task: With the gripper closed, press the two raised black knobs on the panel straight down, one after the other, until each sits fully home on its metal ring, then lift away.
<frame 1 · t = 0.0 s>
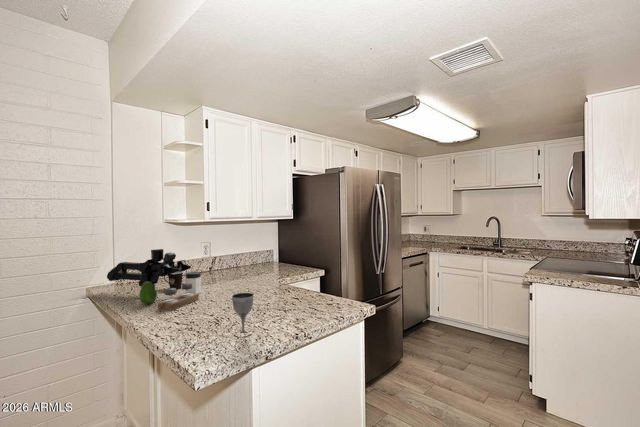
hand: (185, 268, 170), 17 cm above the worktop, tool horizontal, fingers open, 9 cm apart
jar: (193, 293, 181), on the worktop
wine glass: (243, 334, 118), on the worktop
coffee mug: (174, 288, 194), on the worktop
knob panel: (179, 304, 159), on the worktop
knob 2: (187, 286, 165), point 8 cm above the worktop, slide at 2.5 cm
avocado: (148, 304, 159), on the worktop
knob 1: (170, 292, 153), point 8 cm above the worktop, slide at 2.5 cm
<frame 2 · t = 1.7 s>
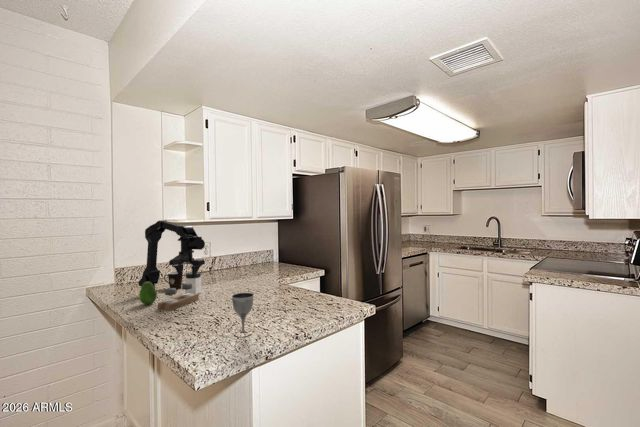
hand: (187, 278, 165), 12 cm above the worktop, tool pointing down, fingers open, 8 cm apart
nothing on the worktop moved.
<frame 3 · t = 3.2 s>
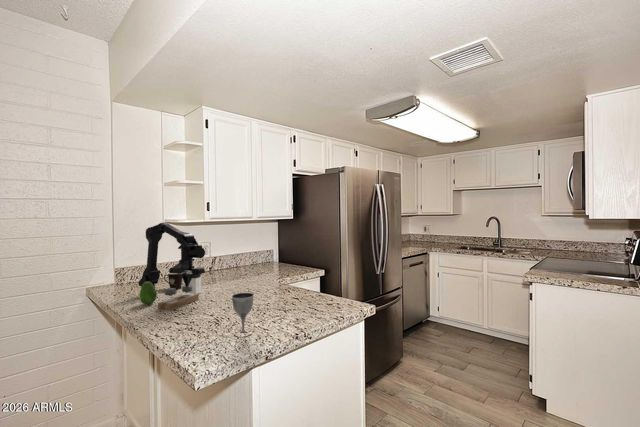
hand: (187, 286, 165), 8 cm above the worktop, tool pointing down, fingers closed, pressing on knob 2
knob 2: (187, 289, 165), point 6 cm above the worktop, slide at 1.2 cm, touching gripper
everything else where it was.
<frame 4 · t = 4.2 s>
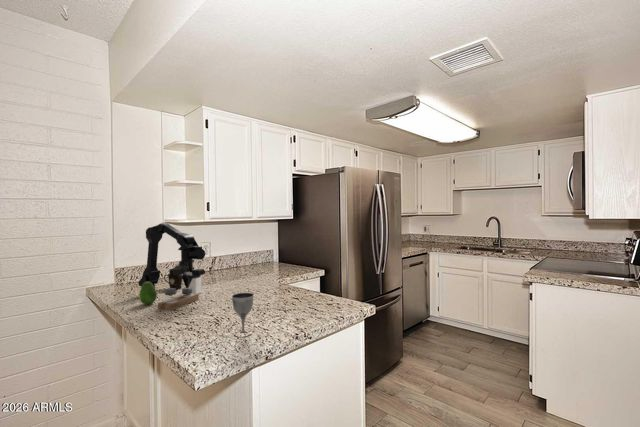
hand: (187, 287, 165), 7 cm above the worktop, tool pointing down, fingers closed
knob 2: (187, 291, 165), point 5 cm above the worktop, slide at -0.1 cm, touching knob panel
everything else where it was.
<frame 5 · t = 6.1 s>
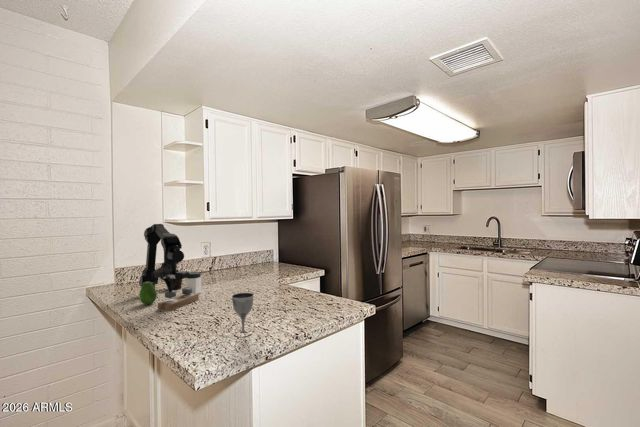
hand: (170, 291, 153), 8 cm above the worktop, tool pointing down, fingers closed, pressing on knob 1
knob 1: (170, 294, 153), point 6 cm above the worktop, slide at 1.3 cm, touching gripper
everything else where it was.
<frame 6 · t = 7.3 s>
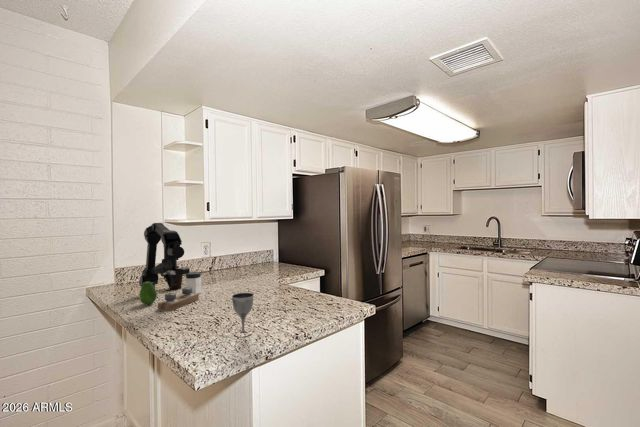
hand: (170, 287, 153), 10 cm above the worktop, tool pointing down, fingers closed
knob 1: (170, 297, 153), point 5 cm above the worktop, slide at -0.1 cm, touching knob panel
everything else where it was.
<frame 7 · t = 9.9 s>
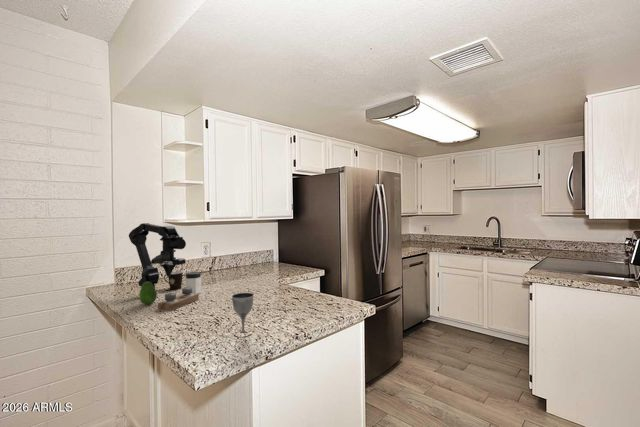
hand: (168, 276, 170), 12 cm above the worktop, tool pointing down, fingers closed
nothing on the worktop moved.
at the end: knob 2 slide at -0.1 cm; knob 1 slide at -0.1 cm; avocado moved 0.2 cm from its start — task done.
